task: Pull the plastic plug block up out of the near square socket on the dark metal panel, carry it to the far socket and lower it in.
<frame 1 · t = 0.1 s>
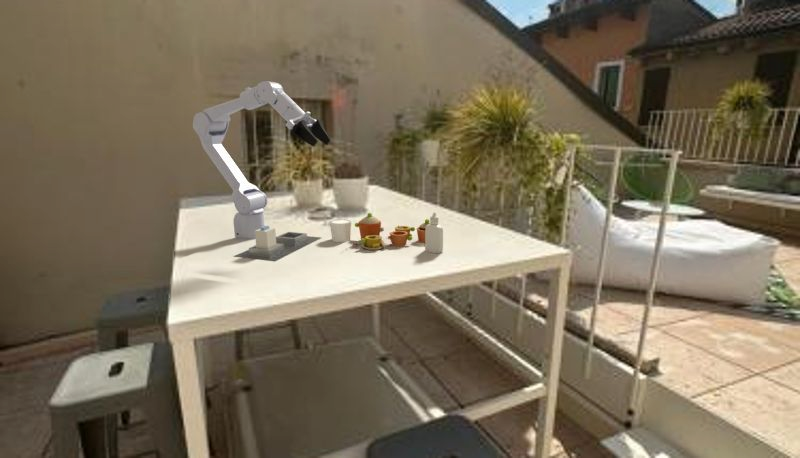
hand: (322, 143, 126), 32 cm above the table, tool tilted 50°, fingers open, 7 cm apart
toy tea set: (394, 242, 140), on the table
panel: (281, 249, 131), on the table
white cylinder: (341, 243, 138), on the table
plug: (266, 252, 124), point 1 cm above the table, touching panel
eye dropper bottle: (433, 251, 128), on the table
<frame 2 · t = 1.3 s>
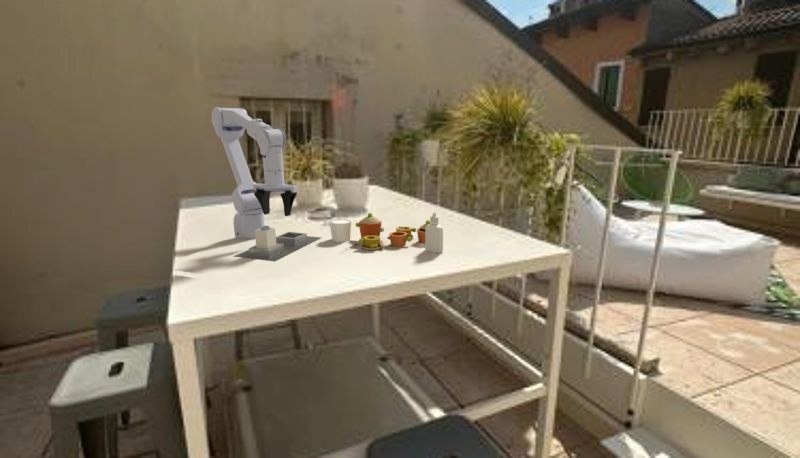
hand: (277, 214, 131), 10 cm above the table, tool pointing down, fingers open, 7 cm apart
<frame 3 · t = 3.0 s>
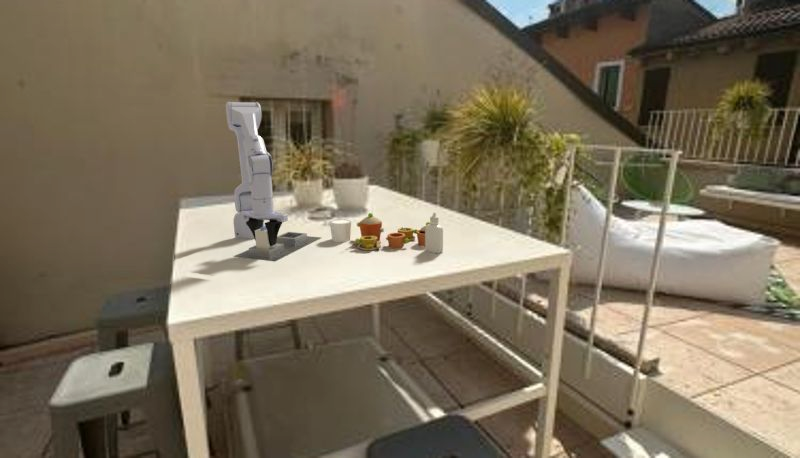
hand: (266, 244, 123), 4 cm above the table, tool pointing down, fingers closed on plug, 4 cm apart
toy tea set: (394, 244, 138), on the table
plug: (266, 252, 124), point 1 cm above the table, touching gripper, panel
everything else where it was.
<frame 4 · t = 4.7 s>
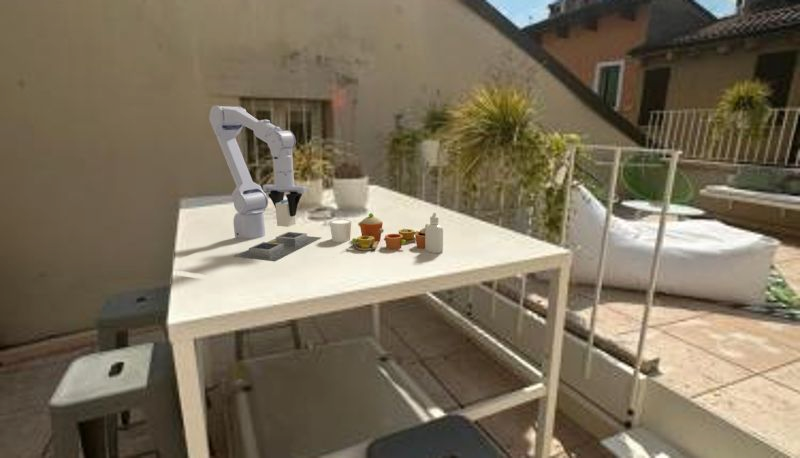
hand: (286, 215, 132), 10 cm above the table, tool pointing down, fingers closed on plug, 4 cm apart
toy tea set: (393, 245, 136), on the table
plug: (286, 224, 132), point 7 cm above the table, touching gripper
everything else where it was.
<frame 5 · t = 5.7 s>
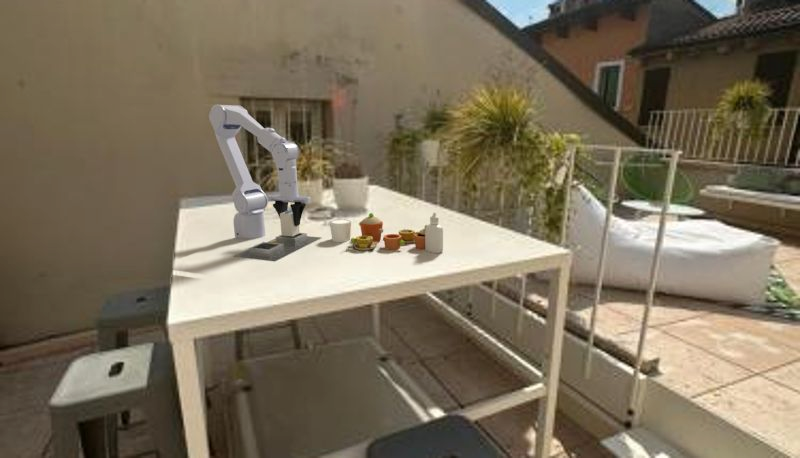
hand: (290, 224, 135), 6 cm above the table, tool pointing down, fingers closed on plug, 4 cm apart
plug: (290, 234, 135), point 3 cm above the table, touching gripper
when the fingers open (5 cm above the table, at t = 6.5 s): plug stays where it is, resting on panel.
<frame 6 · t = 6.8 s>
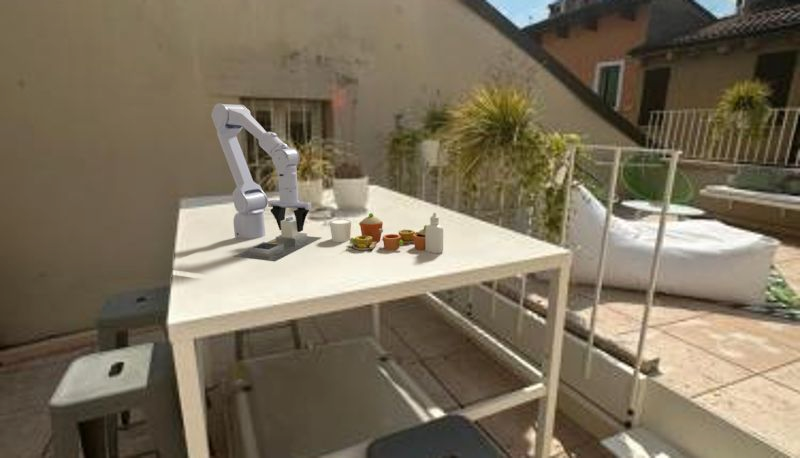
hand: (291, 230, 135), 5 cm above the table, tool pointing down, fingers open, 6 cm apart
plug: (291, 241, 136), point 1 cm above the table, touching panel
everything else where it was.
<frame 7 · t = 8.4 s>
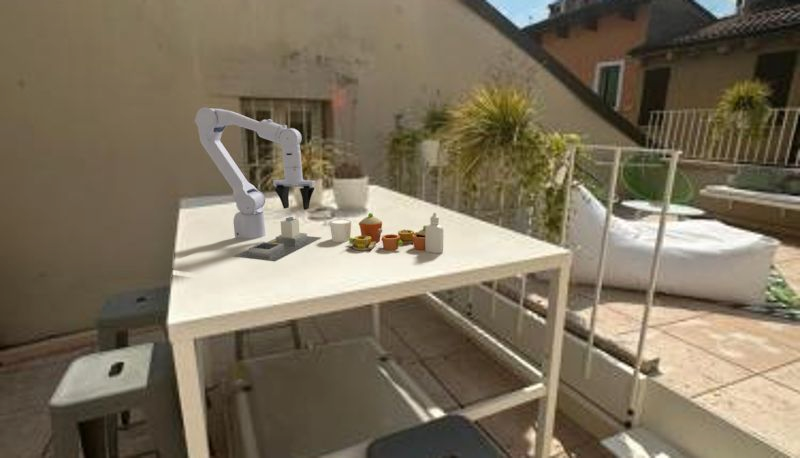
hand: (296, 208, 140), 10 cm above the table, tool pointing down, fingers open, 7 cm apart
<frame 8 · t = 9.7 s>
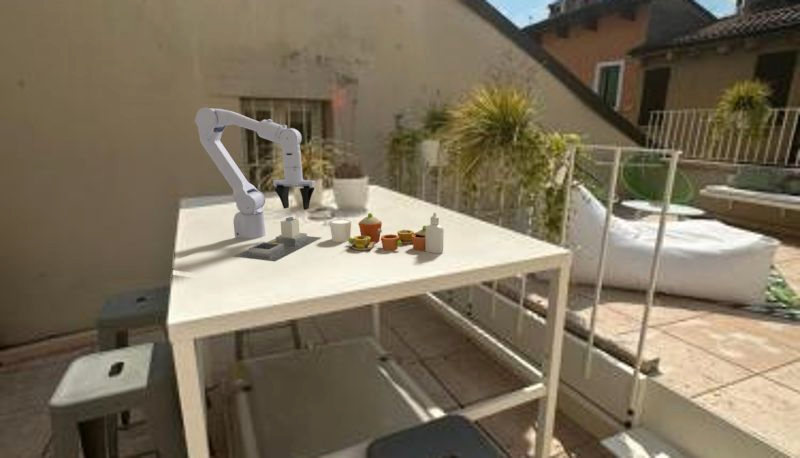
hand: (296, 208, 140), 10 cm above the table, tool pointing down, fingers open, 7 cm apart
at the end: plug 0.5 cm from the target spot on the panel, point 1.0 cm above the panel's base; plug tilted 0°; the gripper is holding nothing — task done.
